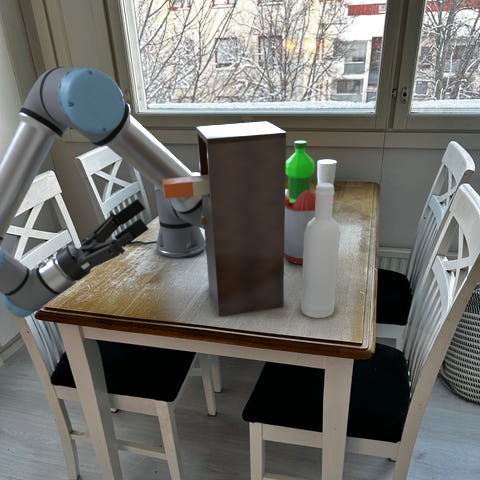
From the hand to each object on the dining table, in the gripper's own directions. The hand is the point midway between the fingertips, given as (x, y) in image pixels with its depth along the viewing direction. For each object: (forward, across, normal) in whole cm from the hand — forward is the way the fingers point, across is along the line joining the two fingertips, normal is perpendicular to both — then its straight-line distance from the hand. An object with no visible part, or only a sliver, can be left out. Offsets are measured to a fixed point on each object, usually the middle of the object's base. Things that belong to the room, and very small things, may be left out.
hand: (142, 213), depth 101 cm
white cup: (+55, +87, +61) cm, 120 cm away
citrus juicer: (+26, +20, +44) cm, 55 cm away
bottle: (+20, -11, +40) cm, 46 cm away
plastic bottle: (+36, +57, +50) cm, 83 cm away
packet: (+16, 0, +5) cm, 16 cm away
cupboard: (+7, 0, +32) cm, 33 cm away
